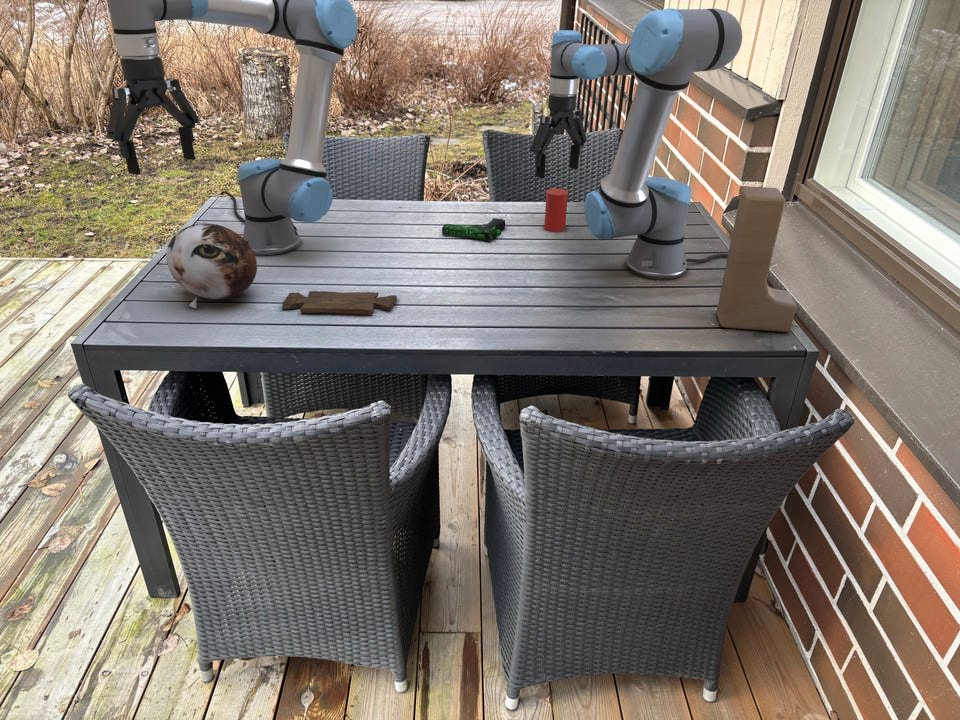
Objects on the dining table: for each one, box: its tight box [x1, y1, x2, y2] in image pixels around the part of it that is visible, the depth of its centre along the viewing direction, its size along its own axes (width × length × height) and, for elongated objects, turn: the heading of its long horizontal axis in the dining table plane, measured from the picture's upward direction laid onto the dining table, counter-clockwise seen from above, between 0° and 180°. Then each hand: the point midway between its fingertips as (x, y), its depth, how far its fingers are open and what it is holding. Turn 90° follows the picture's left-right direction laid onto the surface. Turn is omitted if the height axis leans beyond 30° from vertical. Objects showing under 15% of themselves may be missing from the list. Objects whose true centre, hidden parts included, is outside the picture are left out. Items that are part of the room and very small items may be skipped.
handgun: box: [441, 217, 506, 242], centre depth 207 cm, size 16×3×15 cm
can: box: [543, 188, 569, 233], centre depth 209 cm, size 6×6×11 cm
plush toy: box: [165, 222, 258, 309], centre depth 165 cm, size 22×18×20 cm
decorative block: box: [716, 185, 797, 333], centre depth 153 cm, size 8×15×30 cm, turn 82°
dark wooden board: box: [281, 290, 398, 315], centre depth 165 cm, size 26×2×10 cm
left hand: (163, 166), depth 149 cm, fingers open, 13 cm apart
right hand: (557, 172), depth 202 cm, fingers open, 13 cm apart
